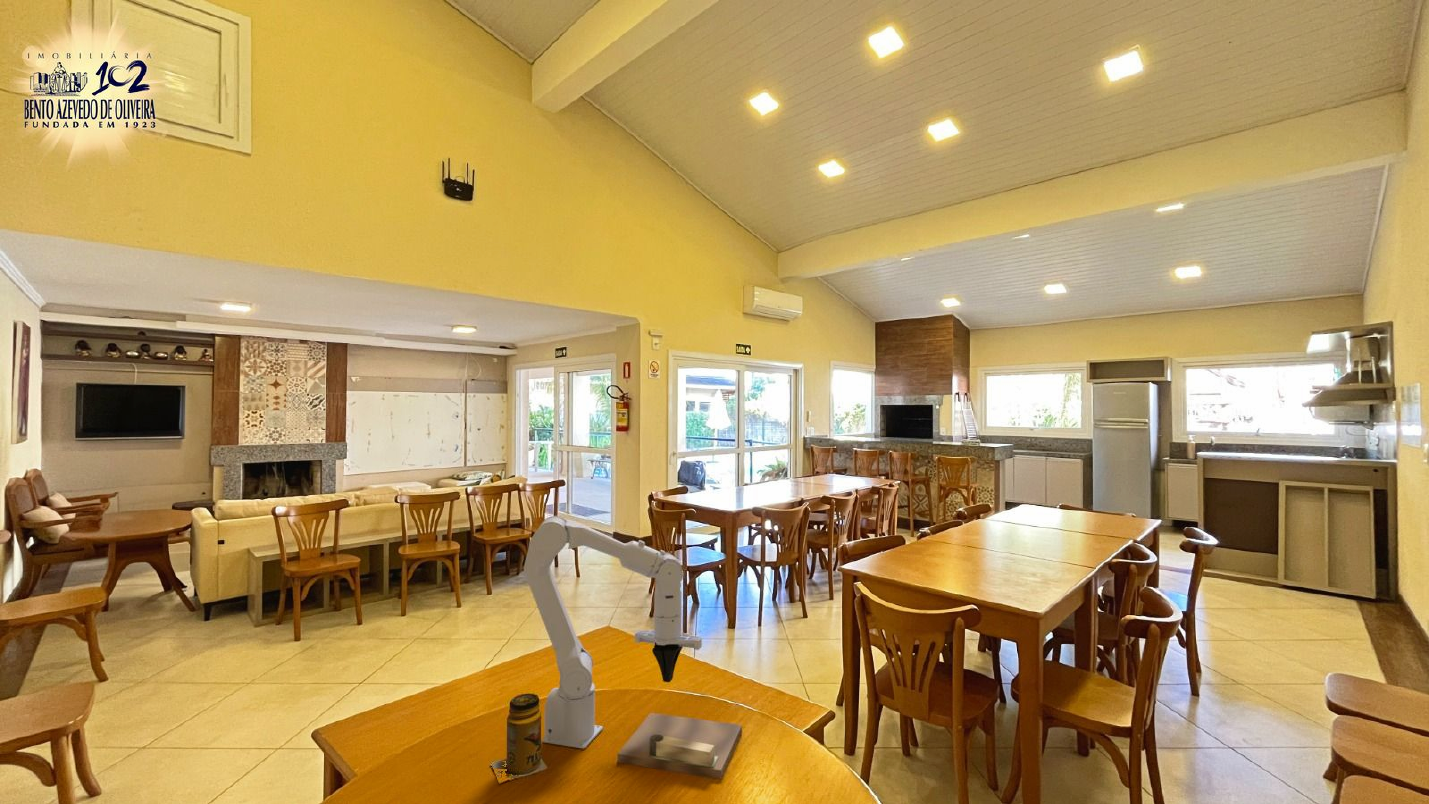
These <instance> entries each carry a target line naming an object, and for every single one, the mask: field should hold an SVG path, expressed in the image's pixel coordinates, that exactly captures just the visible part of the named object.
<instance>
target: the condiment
mask: <svg viewBox="0 0 1429 804" xmlns="http://www.w3.org/2000/svg"><path fill="white" fill-rule="evenodd" d="M508 713H509V714H508V715H507V718H506V758H504V759H501V760H496V761H493V762H491V763H492V764H491V763H489V764H490V766H492V765H493V768H495V769H507V771H505V773H506V774H512V775H513V776H511V777H510V776H507V777H506V778H509V777H510V778H511V779H512V778H516V779H520V778H522V777H527V776H529V775H532V774H535V773H536V774H537V773H538V772H541V771H545V770H546V769H548V766H547V765H546V763H545V761H544V760H543V759H542V757H541V756H542V753H541V751H542V718H543V717H542V711H541V710H540V698H539V696H538V695H537V694H535V693H527V692H526V693H521V694H518V695H516V696H514V697H513V698H512V699H511V700H510V701H509V710H508ZM503 761H506V764H507V765H506V767H504V766H505V765H504V764H505V762H503ZM502 765H504V766H502ZM502 772H503V771H501V772H500V771H498V772H497V773H501V774H502ZM516 775H517V776H516ZM519 775H523V776H522V777H521V776H519ZM497 777H499V775H498V774H497ZM501 777H502V775H501ZM501 777H500V778H501Z"/></svg>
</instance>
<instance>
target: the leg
mask: <svg viewBox="0 0 1429 804" xmlns="http://www.w3.org/2000/svg"><path fill="white" fill-rule="evenodd" d="M650 754H651V755H654V756H660V757H665V758H670V759H675V760H680V761H685V762H690V763H695V764H700V765H705V766H711V764H712V762H713V761H714V745H710V744H704V743H699V742H694V741H688V740H683V739H678V738H672V737H667V736H662V735H653V736H651V737H650Z"/></svg>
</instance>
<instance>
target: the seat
mask: <svg viewBox="0 0 1429 804" xmlns="http://www.w3.org/2000/svg"><path fill="white" fill-rule="evenodd" d="M741 733H742V734H743V724H738V723H731V722H721V721H714V720H707V719H699V718H693V717H687V716H686V717H684V716H677V715H670V714H663V713H657V712H650V713H649V714H648V716H646V718H645V719H644V720H643V722H642V723H641V724H640V726H638V728H636V731H635V732H634V733H633V734H632V735H631V736H630V738H629V739H628V740H627V742H625V744H624V745H623V746H622V748H620V750H619V751H618V753H617V763H618V764H619V763H622V764H627V765H633V766H640V767H645V768H651V769H658V770H661V771H662V770H664V771H669V772H676V773H682V774H687V775H692V776H693V775H694V776H699V777H706V778H712V779H716V780H717V779H718V780H722V779H723V776H724V774H725V772H726V770H727V767H728V765H729V762H730V761H731V758H732V756H733V754H734V753H735V752H734V751H735V750H736V747H737V745H738V743H739V741H738V740H740V738H741V736H742V734H741ZM653 735H662V736H667V737H672V738H678V739H683V740H688V741H694V742H699V743H704V744H710V745H714V761H713V762H712V764H711V766H705V765H700V764H695V763H690V762H685V761H680V760H675V759H670V758H665V757H660V756H654V755H651V754H650V737H651V736H653ZM740 735H741V736H740ZM739 737H740V738H739Z"/></svg>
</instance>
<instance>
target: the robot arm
mask: <svg viewBox="0 0 1429 804" xmlns="http://www.w3.org/2000/svg"><path fill="white" fill-rule="evenodd" d="M566 544H568V549H569V550H570V549H574V548H578V547H583V546H584V547H587V548H589V549H593V550H595V551H598V552H600V553H602V554H606V555H608V556H611V557H613V558H617V559H618V560H619V562H620V565H621V567H622V568H624V569H627V570H629V571H632V572H635V573H637V574H639V575H642V576H644V577H646V578H649V579H651V578H654V579H655V581H654V582H655V587H654V588H655V590H654V592H653V593H654V594H653V595H654V599H653V600H654V604H653V609H654V612H653V613H654V614H653V615H654V617H653V623H654V625H653V626H654V629H653V630H640V629H639V630H637V631H636V632H634V643H637V644H638V643H641V642H642V643H649V644H654V646H653V648H652V649H651V650H652V654H653V656H654V657H655V659H656V661H657V664H658V667H659V669H660V673H661V676H662V682H664V683H670V682H671V681H672V680H673V679H674V673H675V668H676V665H677V662H678V658H679V656H680V653H681V651H682V649H683V648H689V649H693V650H696V651H699V650H700V649H701V648H702V645H703V643H702V641H703V640H702V639H703V638H702V637H701V636H696V635H691V634H688V633H685V632H682V591H681V587H682V583H681V582H682V581H683V578H684V574H685V573H684V571H683V566H682V564H681V563H680V561H679V560H678V558H677V557H675V555H672V554H671V553H670V552H666V551H665V550H662V549H660V551H659V550H656V549H654V548H652V547H650V546H647V545H646V543H645V541H643V540H642V539H639V540H638V541H635V540H631V541H629V542H626V543H624V542H621V541H620V540H617V539H615V538H613V537H611V536H609V535H606V534H604V533H602V532H600V531H598V530H596V529H595V528H592V527H589V526H587V525H586V524H582V523H580V522H577V521H575V520H571V519H567V520H566V519H565V518H563V517H561V516H558V515H552V516H548V517H547V518H545V519H544V520H543V521H542V522H541V524H539V526H538V528H537V530H535V532H534V533H533V535H532V537H531V538H530V540H529V546H528V550H527V554H526V558H525V562H524V566H523V572H524V573H523V574H524V576H525V578H526V582H527V583H528V586H529V589H530V592H531V594H532V596H533V599H534V602H535V605H536V607H537V609H538V611H539V614H540V617H541V620H542V622H543V625H544V628H545V630H546V632H547V635H548V637H549V640H550V642H551V645H552V648H553V651H554V653H555V660H556V667H557V669H558V671H559V682H558V683H559V687H554V688H552V689H551V691H550V692H549V693H548V695H547V698H546V701H545V705H544V737H543V738H541V743H545V744H550V745H551V744H552V745H559V746H564V747H571V748H576V749H577V748H578V749H585V748H587V746H588V745H589V744H590V743H591V742H592V741H593V740H594V739H595V738H596V737H597V736H598V735H599V734H600V733H601V732H602V730H604V727H603V726H602V725H598V724H597V725H596V723H595V721H596V720H595V719H596V718H595V716H596V713H595V712H596V708H595V707H596V706H595V704H596V699H595V698H596V696H595V695H596V694H595V693H596V691H595V690H596V686H595V685H596V684H595V683H593V667H594V660H593V657H592V655H591V654H590V653H589V652H588V651H587V650H586V649H585V648H584V646H583V644H582V641H581V640H580V639H579V637H578V636H577V634H576V631H575V629H574V626H573V624H572V621H571V619H570V616H569V614H568V610H567V608H566V605H565V604H564V601H563V598H562V595H561V592H560V590H559V588H558V585H557V582H556V579H555V577H554V574H553V573H552V569H551V566H552V563H553V562H554V560H555V557H556V556H557V555H558V554H559V553H560V552H561V551H562V550H563V549H564V547H566Z"/></svg>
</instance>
